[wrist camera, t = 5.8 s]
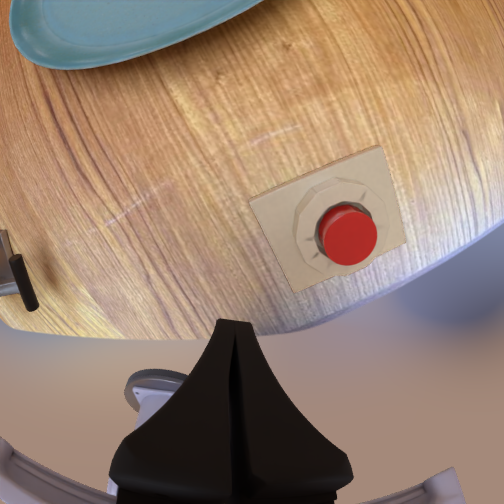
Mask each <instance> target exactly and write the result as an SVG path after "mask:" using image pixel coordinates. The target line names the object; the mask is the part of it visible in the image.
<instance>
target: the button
mask: <svg viewBox="0 0 504 504" xmlns="http://www.w3.org/2000/svg"><path fill="white" fill-rule="evenodd" d="M318 237H319V241H320V243H321V245H322V247H323V249H324V251H325V252H326V254H327V256H328V257H329V258H330V259H331V260H332V261H333V262H335V263H337V264H339V265H344V266H350V265H355V264H358V263H360V262H362V261H363V260H365V259H366V258H367V257H368V256H369V255H370V254H371V252H372V251H373V249H374V247H375V245H376V242H377V228H376V225H375V223H374V222H373V220H372V219H371V218H370V217H369V216H368V215H366V214H365V213H364V212H363V211H362V210H361V209H359V208H358V207H356V206H353V205H340V206H337V207H335V208H333V209H331V210H330V211H329V212H327V213H326V215H325V216H324V217H323V219H322V220H321V222H320V225H319V229H318Z"/></svg>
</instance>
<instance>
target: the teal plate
mask: <svg viewBox="0 0 504 504" xmlns="http://www.w3.org/2000/svg"><path fill="white" fill-rule="evenodd" d="M262 1H263V0H12V2H11V7H10V14H9V26H10V33H11V36H12V39H13V42H14V44H15V46H16V48H17V49H18V50H19V52H20V53H21V54H22V55H23V56H24V57H25V58H26V59H28V60H29V61H31V62H33V63H34V64H37V65H39V66H42V67H46V68H51V69H57V70H79V69H87V68H95V67H100V66H105V65H110V64H114V63H118V62H122V61H126V60H129V59H133V58H136V57H139V56H142V55H145V54H148V53H151V52H154V51H157V50H160V49H163V48H165V47H168V46H171V45H174V44H176V43H178V42H181V41H184V40H186V39H189V38H191V37H193V36H196V35H198V34H200V33H203V32H205V31H207V30H209V29H211V28H213V27H215V26H217V25H220V24H222V23H224V22H226V21H228V20H230V19H232V18H233V17H235V16H237V15H239V14H241V13H243V12H245V11H246V10H248V9H250V8H252V7H253V6H255V5H257V4H258V3H260V2H262Z"/></svg>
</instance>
